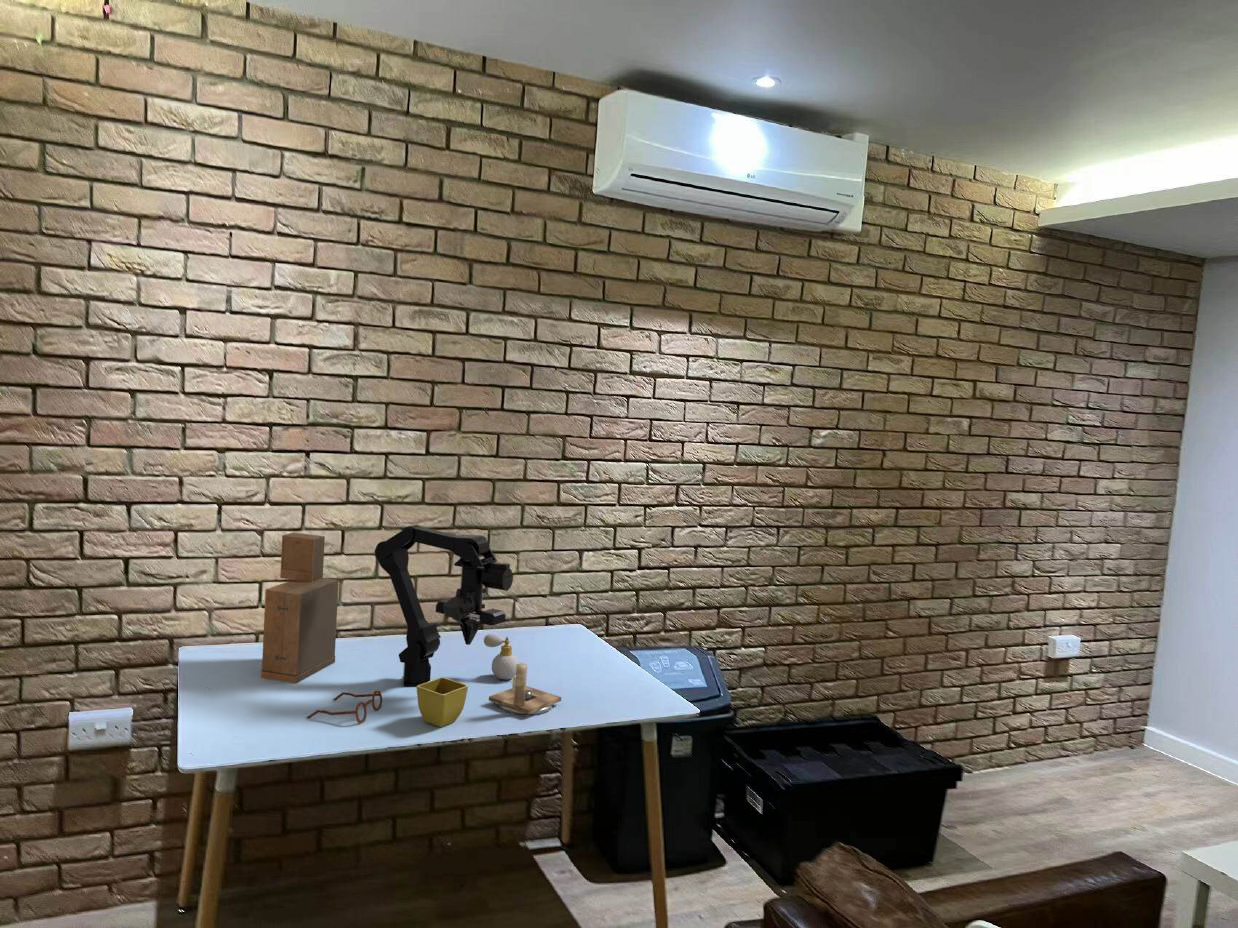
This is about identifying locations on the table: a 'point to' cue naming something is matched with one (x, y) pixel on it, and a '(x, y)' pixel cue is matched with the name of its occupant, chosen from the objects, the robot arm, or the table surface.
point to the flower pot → (441, 700)
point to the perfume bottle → (502, 657)
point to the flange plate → (530, 704)
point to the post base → (527, 698)
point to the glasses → (356, 707)
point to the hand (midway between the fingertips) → (468, 644)
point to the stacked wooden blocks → (300, 613)
